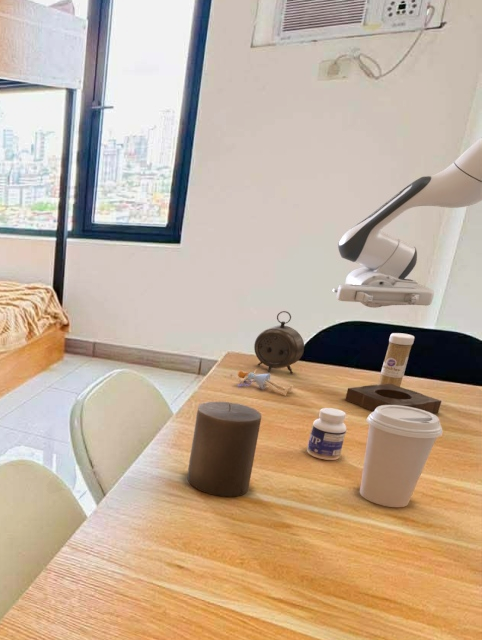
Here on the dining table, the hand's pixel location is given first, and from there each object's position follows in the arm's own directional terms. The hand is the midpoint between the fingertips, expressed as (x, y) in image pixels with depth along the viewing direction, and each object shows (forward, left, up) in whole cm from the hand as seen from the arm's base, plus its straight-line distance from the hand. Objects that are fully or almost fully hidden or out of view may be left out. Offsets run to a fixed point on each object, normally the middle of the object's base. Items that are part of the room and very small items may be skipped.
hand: (391, 300), depth 157 cm
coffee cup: (+57, +53, -20) cm, 80 cm away
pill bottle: (+53, +37, -20) cm, 67 cm away
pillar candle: (+80, +42, -20) cm, 92 cm away
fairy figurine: (+36, +2, -20) cm, 41 cm away
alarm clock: (+23, -9, -20) cm, 31 cm away
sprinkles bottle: (+7, +10, -20) cm, 23 cm away
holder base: (+18, +20, -19) cm, 33 cm away
